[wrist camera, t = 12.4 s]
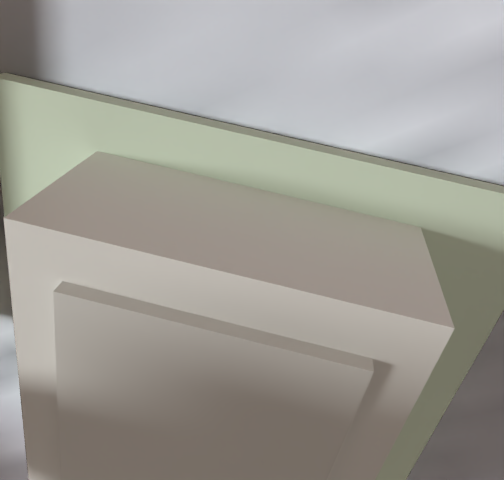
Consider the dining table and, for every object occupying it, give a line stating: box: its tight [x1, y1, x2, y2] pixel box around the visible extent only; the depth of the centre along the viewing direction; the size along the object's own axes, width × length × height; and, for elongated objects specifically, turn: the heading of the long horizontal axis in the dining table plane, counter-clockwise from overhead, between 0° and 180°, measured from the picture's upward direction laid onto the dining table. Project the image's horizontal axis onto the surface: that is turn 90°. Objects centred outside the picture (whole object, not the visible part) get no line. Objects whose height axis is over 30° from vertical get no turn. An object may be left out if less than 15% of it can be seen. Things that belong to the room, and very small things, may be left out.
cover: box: [4, 151, 455, 480], centre depth 9 cm, size 8×6×3 cm
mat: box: [0, 73, 504, 480], centre depth 11 cm, size 10×10×1 cm
